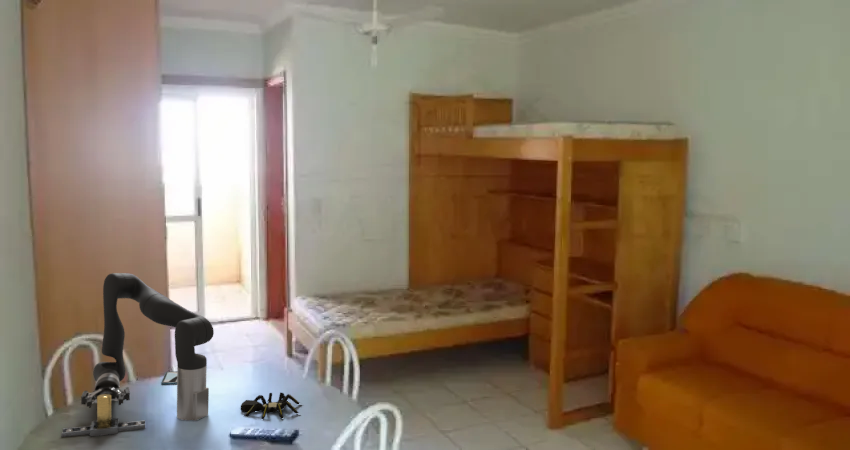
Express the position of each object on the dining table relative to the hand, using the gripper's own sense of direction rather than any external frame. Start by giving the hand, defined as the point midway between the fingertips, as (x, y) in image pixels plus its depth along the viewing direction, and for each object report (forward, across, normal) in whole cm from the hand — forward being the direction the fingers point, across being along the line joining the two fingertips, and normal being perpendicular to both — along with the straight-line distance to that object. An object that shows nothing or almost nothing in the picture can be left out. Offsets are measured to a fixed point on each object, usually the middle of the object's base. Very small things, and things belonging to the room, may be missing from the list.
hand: (105, 403), depth 212 cm
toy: (+1, +53, +8) cm, 53 cm away
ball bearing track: (+4, 0, +7) cm, 8 cm away
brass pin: (+3, 0, +7) cm, 8 cm away
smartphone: (-42, +22, +8) cm, 48 cm away
